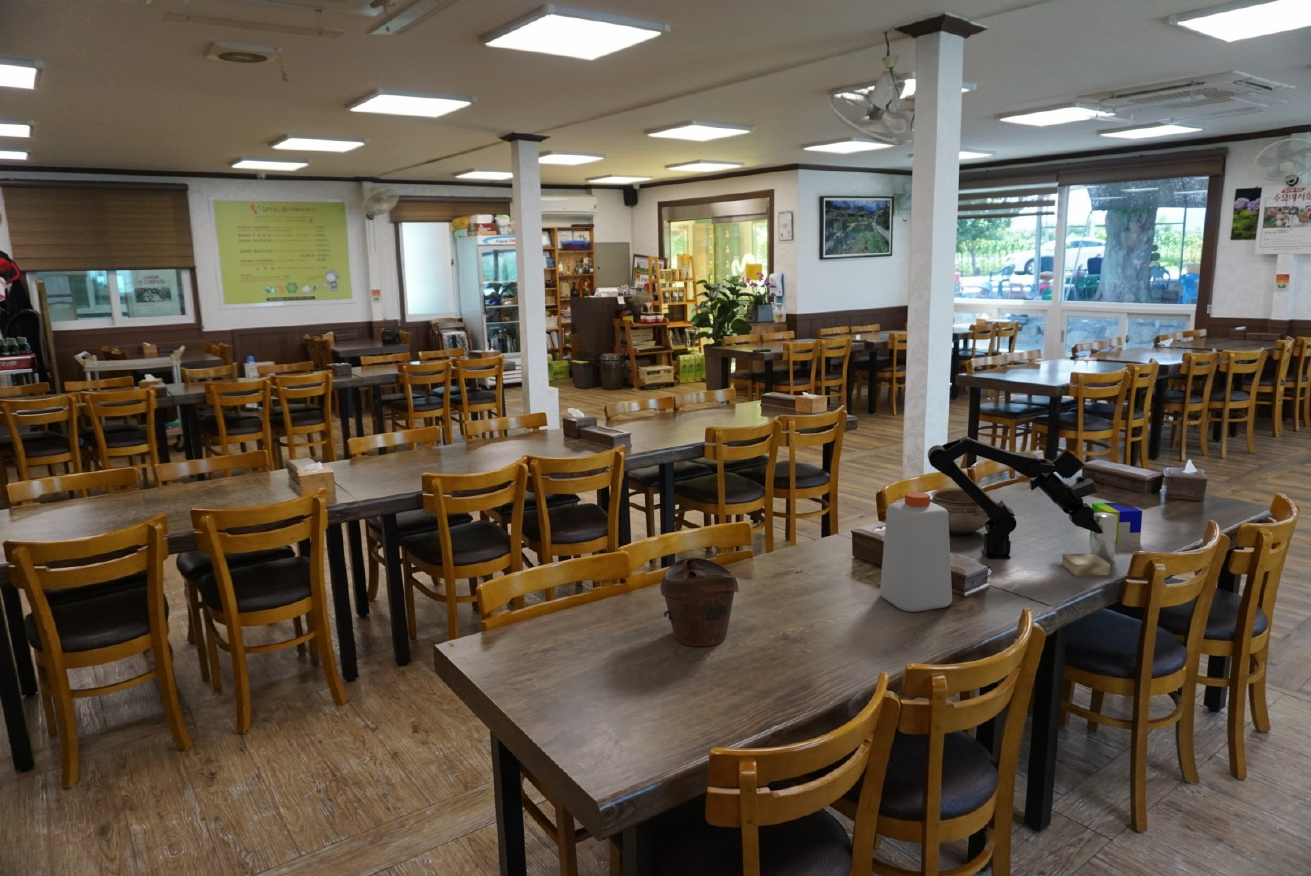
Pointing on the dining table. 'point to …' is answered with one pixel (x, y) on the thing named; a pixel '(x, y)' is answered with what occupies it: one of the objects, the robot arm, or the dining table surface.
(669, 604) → the brown lidded bucket
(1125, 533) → the puzzle toy
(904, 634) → the dining table surface
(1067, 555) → the birch block
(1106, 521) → the metal cylinder
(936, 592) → the plastic bottle
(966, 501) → the cooking pot
